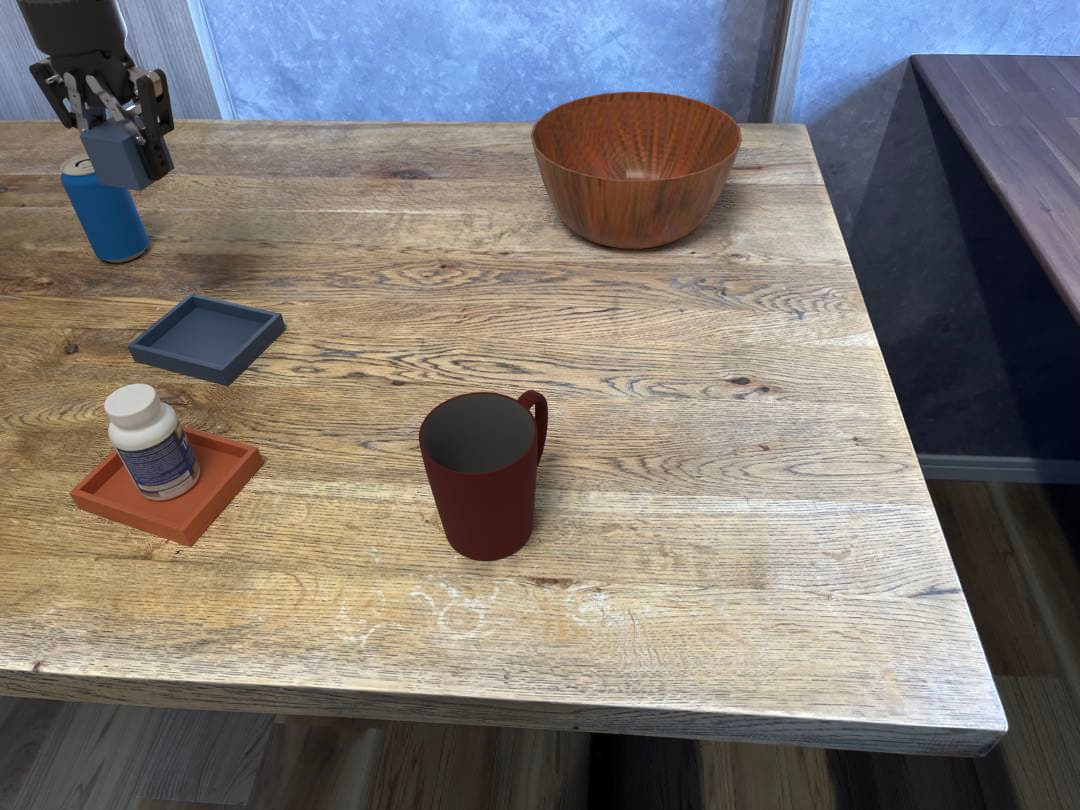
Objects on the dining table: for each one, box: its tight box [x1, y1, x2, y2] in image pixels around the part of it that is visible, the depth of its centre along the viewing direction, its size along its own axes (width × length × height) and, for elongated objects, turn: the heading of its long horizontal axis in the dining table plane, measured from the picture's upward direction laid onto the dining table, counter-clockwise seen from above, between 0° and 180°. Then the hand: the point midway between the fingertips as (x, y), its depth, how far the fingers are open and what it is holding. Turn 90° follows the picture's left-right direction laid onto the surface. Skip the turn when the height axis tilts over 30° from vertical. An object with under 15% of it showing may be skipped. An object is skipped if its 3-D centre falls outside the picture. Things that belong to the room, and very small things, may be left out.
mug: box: [418, 389, 549, 561], centre depth 66 cm, size 12×9×11 cm
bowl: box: [530, 91, 743, 250], centre depth 101 cm, size 25×25×11 cm
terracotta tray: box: [68, 424, 264, 548], centre depth 72 cm, size 12×10×2 cm
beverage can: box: [59, 152, 150, 264], centre depth 99 cm, size 6×6×12 cm
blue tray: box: [126, 292, 287, 387], centre depth 87 cm, size 12×10×2 cm
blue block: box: [78, 116, 175, 192], centre depth 79 cm, size 5×5×5 cm
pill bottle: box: [103, 383, 200, 501], centre depth 69 cm, size 5×5×10 cm
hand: (136, 172), depth 80 cm, fingers closed on blue block, 5 cm apart
